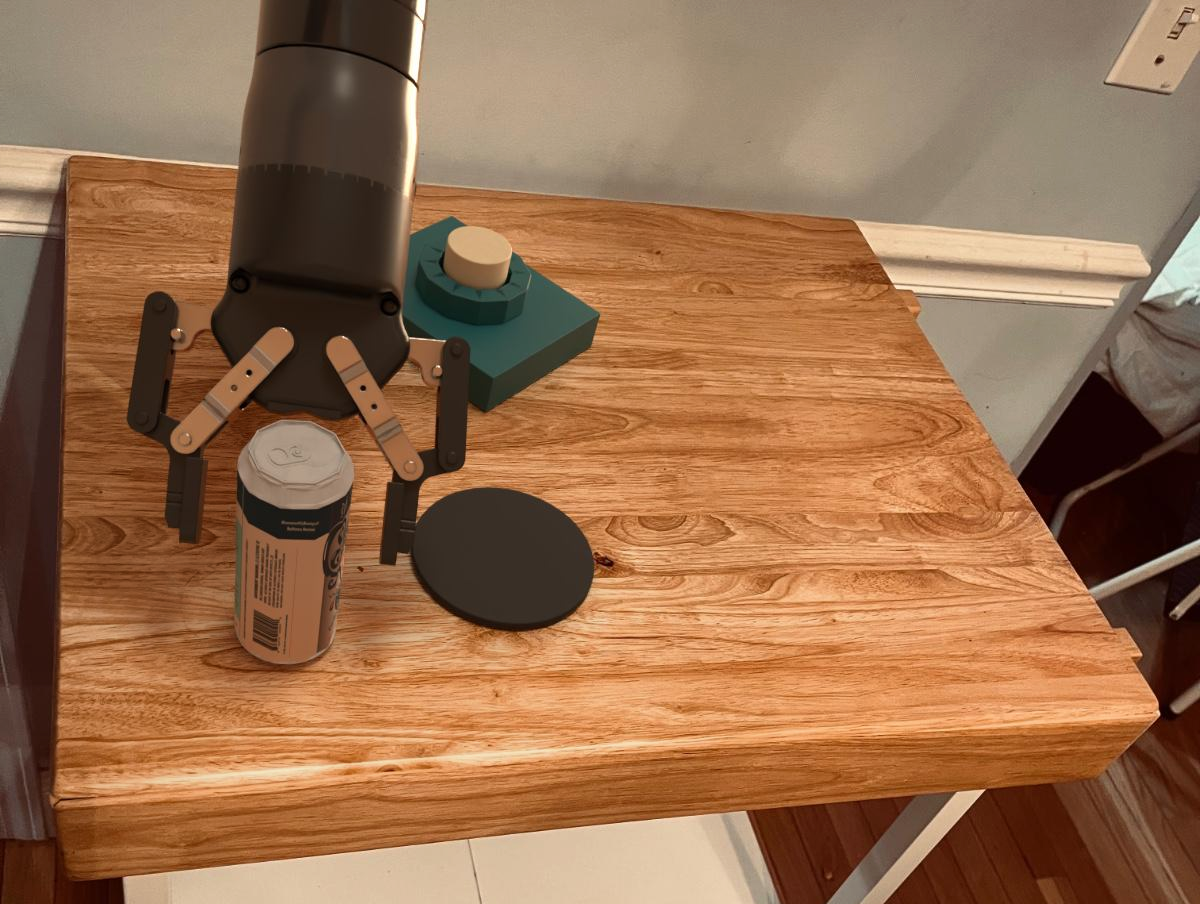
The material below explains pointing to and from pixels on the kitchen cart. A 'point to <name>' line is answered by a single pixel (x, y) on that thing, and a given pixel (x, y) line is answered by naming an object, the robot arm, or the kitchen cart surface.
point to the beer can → (290, 540)
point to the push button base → (494, 318)
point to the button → (477, 258)
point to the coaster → (502, 558)
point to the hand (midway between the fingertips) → (290, 554)
